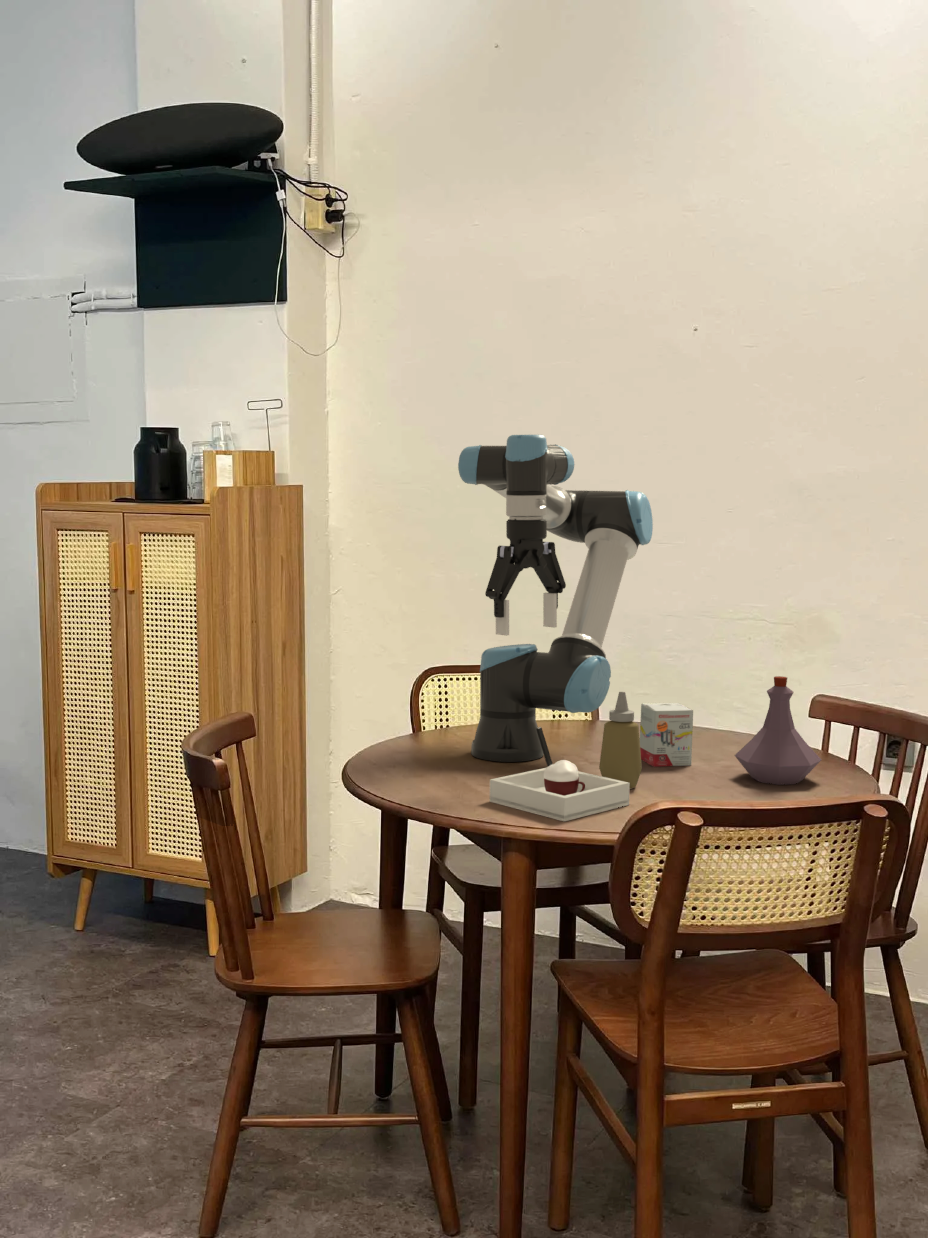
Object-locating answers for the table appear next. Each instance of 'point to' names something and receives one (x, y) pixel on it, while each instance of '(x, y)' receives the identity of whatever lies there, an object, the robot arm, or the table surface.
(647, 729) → the ink box
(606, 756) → the squeeze bottle
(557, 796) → the tray
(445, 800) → the table surface
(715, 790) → the table surface
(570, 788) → the cocoa
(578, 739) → the table surface
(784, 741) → the flask
